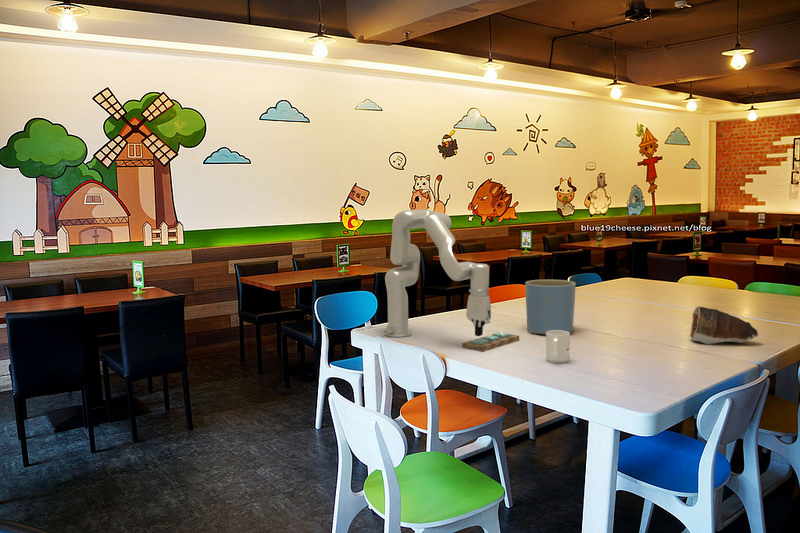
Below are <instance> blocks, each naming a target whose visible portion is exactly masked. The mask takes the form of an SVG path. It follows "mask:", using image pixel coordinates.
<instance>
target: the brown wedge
mask: <svg viewBox="0 0 800 533" xmlns="http://www.w3.org/2000/svg"><path fill="white" fill-rule="evenodd" d="M691 318H692V319H691V320H692V321H691V328H690V334H689V341H693V342H697V343H701V344H705V345H713V344H717V343H718V344H719V343H724V342H726V343H727V342H729V343H730V342H731V343H738V344H739V343H741V344H742V343H745V342H747V341H750V340H754V339H755V338H757V337H759V333H758V332H759V331H758V330H757V329H756V328H754V327H753V326H752V325H751V324H752V323H750V322H749V321H745V320H744V319H741V318H740V317H737V316H735V315H731V314H729V313H726V312H725V311H724V312H723V311H721V310H718V309H717V308H708V307H704V306H697V307H695V308H694V310H693V313H692V317H691Z"/></svg>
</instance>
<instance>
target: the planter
mask: <svg viewBox="0 0 800 533" xmlns="http://www.w3.org/2000/svg"><path fill="white" fill-rule="evenodd" d="M524 284H525V308H526V310H525V311H526V327H527V328H526V329H527V330H528V333H529V334H539V335H540V334H541V335H546V332H547V331H550V330H563V331H567V332H569V333H572V331H574V319H575V318H574V316H575V305H576V304H575V303H576V302H575V301H576V300H575V299H576V285H577V284H576V282H575V281H572V280H565V279H534V280H532V279H530V280H527V281H525V283H524Z"/></svg>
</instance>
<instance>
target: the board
mask: <svg viewBox="0 0 800 533" xmlns="http://www.w3.org/2000/svg"><path fill="white" fill-rule="evenodd" d="M496 333H499V332H495V333H492V334H488V335H486V336H489V335H492V336H494V334H496ZM509 334H510V333H509ZM486 336H481V337H478V338H477V339H479V338H480V339H483V337H486ZM475 339H476V338H475ZM475 339H471V340H468V341H464V342H462V343H461V348H462V349H466V350H467V349H468V350H472V351H477V352H482V353H483V352H486V351H490V350H492V349H497V348H499V347H502V346H506V345H508V344H511V343H515V342H518V341H520V335H518V334H517V335H516V334H512V333H511V334H510V336H509V337H506V338H499V340H496V341H493V342H492V341H488V343H486V344H483V345H479V344H474V343H472V340H475Z"/></svg>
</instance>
